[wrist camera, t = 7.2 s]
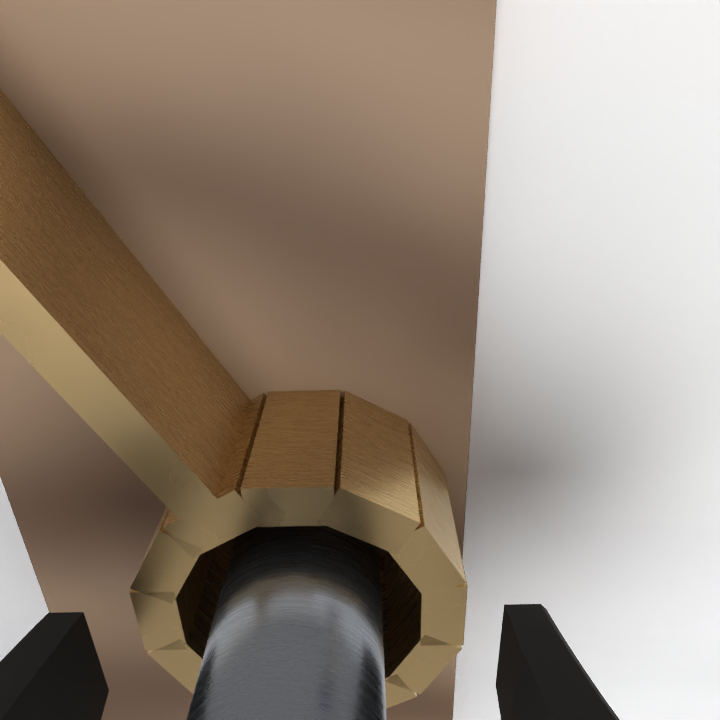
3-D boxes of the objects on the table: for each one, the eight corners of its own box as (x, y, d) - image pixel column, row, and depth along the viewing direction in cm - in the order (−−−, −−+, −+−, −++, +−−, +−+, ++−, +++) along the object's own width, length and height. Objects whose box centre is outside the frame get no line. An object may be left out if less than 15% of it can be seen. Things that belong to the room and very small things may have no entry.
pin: (379, 549, 14) (393, 922, 8) (255, 552, 15) (173, 925, 8) (376, 444, 13) (390, 793, 7) (239, 448, 13) (128, 797, 7)
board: (443, 773, 20) (446, 806, 19) (131, 777, 20) (121, 810, 19) (487, -51, 10) (500, -62, 9) (-137, -28, 10) (-185, -37, 9)
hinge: (432, 782, 19) (444, 913, 16) (149, 786, 19) (110, 915, 16) (464, 14, 10) (508, -7, 7) (-89, 32, 10) (-278, 20, 7)
